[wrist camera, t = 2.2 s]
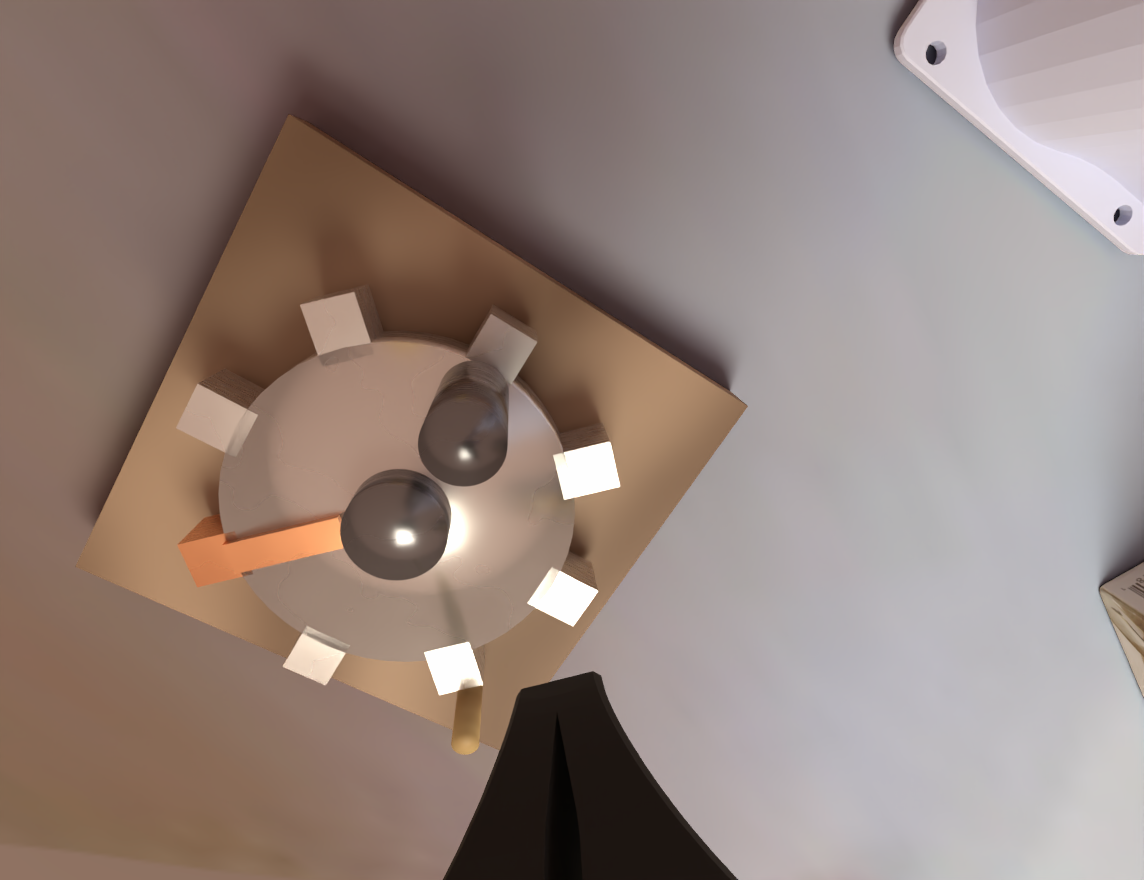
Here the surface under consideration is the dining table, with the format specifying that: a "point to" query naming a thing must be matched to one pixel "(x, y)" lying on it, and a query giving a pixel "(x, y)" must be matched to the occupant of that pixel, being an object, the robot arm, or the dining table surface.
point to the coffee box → (1128, 616)
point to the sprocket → (396, 493)
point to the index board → (420, 304)
